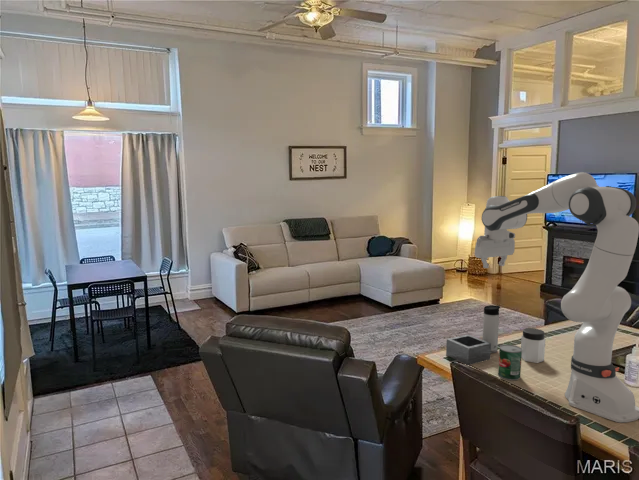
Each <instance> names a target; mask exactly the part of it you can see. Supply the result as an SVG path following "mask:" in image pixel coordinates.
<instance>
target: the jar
mask: <svg viewBox="0 0 639 480" xmlns="http://www.w3.org/2000/svg"><path fill="white" fill-rule="evenodd" d="M545 334H546V333H545V331H543V330H542V329H539V328H534V327H533V328H531V327H526V328H524V329H522V335H521V338H520V339H521V341H520V343H521V344H520V348H521V349H522V355H521V359H522V360H524V361H525V362H529V363H534V364H538V363H541V362H544V361H545V350H546V349H545V348H546V338H545Z"/></svg>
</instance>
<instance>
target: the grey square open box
mask: <svg viewBox="0 0 639 480" xmlns="http://www.w3.org/2000/svg"><path fill="white" fill-rule="evenodd" d="M445 346H446V349H445V350H446V351H445V355H446V356H448V357H450V358H452V359H453V360H456V361H458V362H460V363H462V364H465V365H466V364H467V366H470V365H471V366H472V365H474V364H475V365H476V364H478V363H483V362H486V360H487V361H491V354H492V353H491V343H489V342H487V341H484V340H483V339H482V338H478V337H476V336H473V335H471V334H464V335H459V336H456V337H450V338H446V345H445ZM482 361H483V362H482Z"/></svg>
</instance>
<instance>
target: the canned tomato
mask: <svg viewBox="0 0 639 480" xmlns="http://www.w3.org/2000/svg"><path fill="white" fill-rule="evenodd" d="M498 351H499V353H498V354H499V355H498V370H497V371H498V372H497V375H498V377H499V378H502V379H503V380H508V381H517V380H520V379H521V372H522V371H521V369H522V358H521V355H522V349H521V346H520V347H519V346H517V345H514V344H501V345H500V346H499V350H498Z"/></svg>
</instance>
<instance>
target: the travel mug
mask: <svg viewBox="0 0 639 480" xmlns="http://www.w3.org/2000/svg"><path fill="white" fill-rule="evenodd" d="M500 309H501V306H500V305H492V304H491V305H489V304H488V305H485V306H484V307H483V318H482V319H483V321H482V340H484V341H487V342H489V343H491V354H495V353H497V352H498V346H499V340H498V339H499V325H500V323H499V322H500Z"/></svg>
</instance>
